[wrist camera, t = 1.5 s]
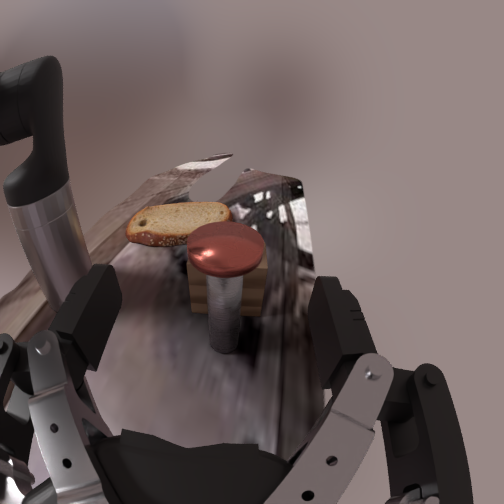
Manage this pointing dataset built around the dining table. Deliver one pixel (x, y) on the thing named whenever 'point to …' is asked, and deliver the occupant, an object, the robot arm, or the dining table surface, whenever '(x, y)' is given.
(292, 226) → the dining table surface
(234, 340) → the copper-capped metal peg
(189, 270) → the brown striped block
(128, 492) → the robot arm
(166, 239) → the seeded bread slice
